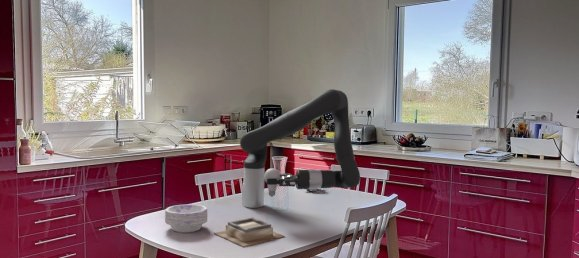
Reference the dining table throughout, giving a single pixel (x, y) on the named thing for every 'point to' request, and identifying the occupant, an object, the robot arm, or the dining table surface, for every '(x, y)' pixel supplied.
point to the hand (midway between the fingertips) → (265, 180)
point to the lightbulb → (271, 174)
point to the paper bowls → (186, 217)
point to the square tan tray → (249, 232)
